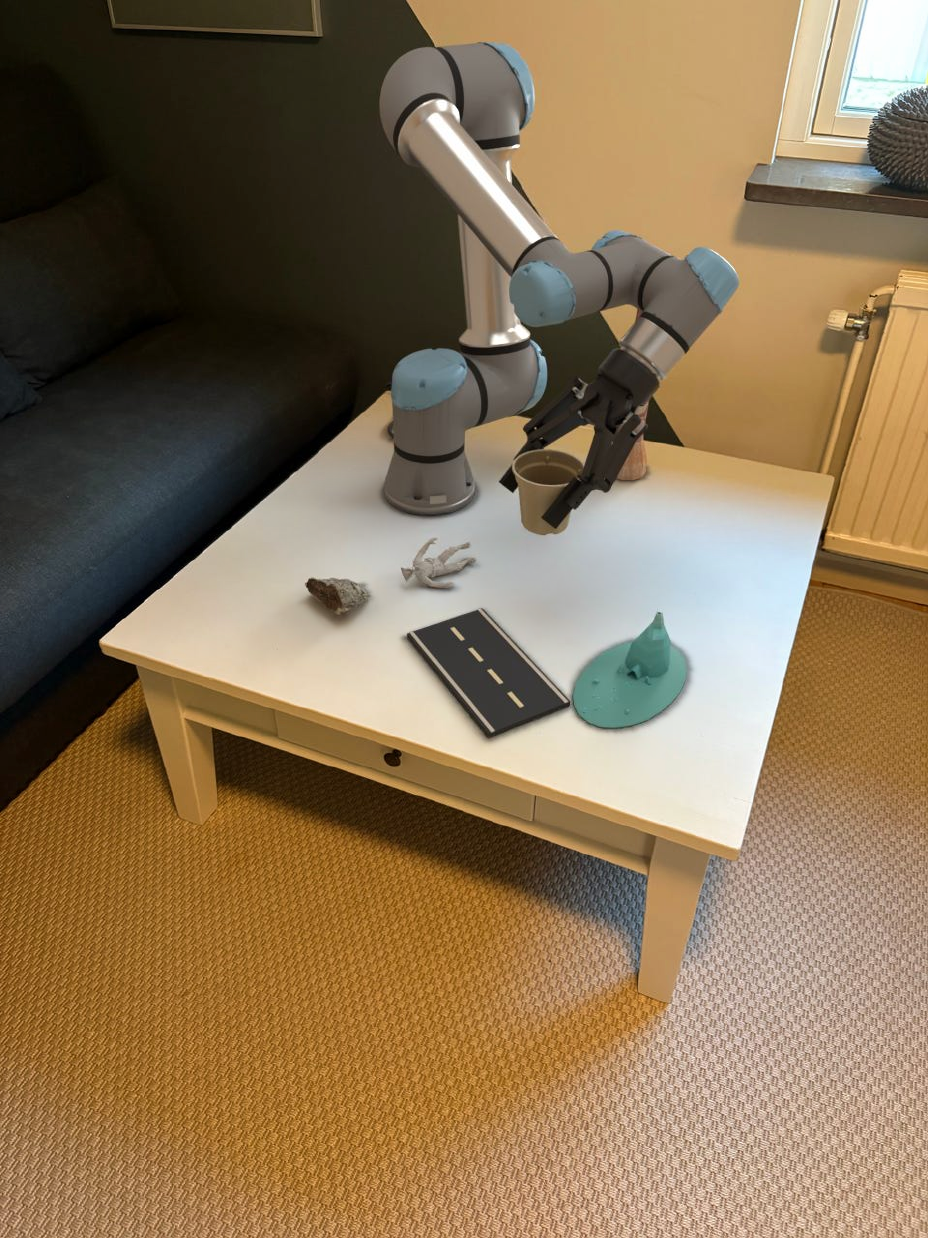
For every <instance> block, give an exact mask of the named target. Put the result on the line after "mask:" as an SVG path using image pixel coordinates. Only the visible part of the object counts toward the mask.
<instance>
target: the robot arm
mask: <svg viewBox="0 0 928 1238" xmlns="http://www.w3.org/2000/svg"><path fill="white" fill-rule="evenodd" d="M529 68H530V67H528V64H527V63H526V60H525V59H524V58H523V57H521V54H520V53H519V51H518V50H516V49H515V48H514V47H513V46H511V45H509V44H507V43H503V42H490V41H489V42H487V41H485V42H483V41H477V42H473V43H463V44H453V45H452V44H451V45H442V46H433V47H432V46H425V47H417V48H415V49H412V50H410V51H408V52H406V53H405V54H402V55H401V56H400V57H399V58H398V59H396V60H395V62H394V63H393V64H392V65H391V67H390V68H389V69H388V71H387V73H386V74H385V77H384V79H383V82H382V85H381V89H380V94H379V95H380V96H379V102H378V103H379V117H380V121H381V125H382V128H383V131H384V133H385V135H386V138H387V140H388V142H389V143H390V145H391V146H392V148H393V150H394V151H395V152H396V153H397V154H398V156H400V159H402V160H403V161H404V163H405V164H407V165H409V166H410V167H414V168H419V169H420V170H421V172H422V173H423V174H424V175H425V176H426V177H427V179H428V180H429V181H430V182H431V183H432V184H433V186H434V187H435V188H436V190H438V192H439V193H440V194H441V196H443V198H444V199H445V200H446V202H447V203H448V204H449V205H450V206H451V208H452V209H453V210H454V211H455V212H456V213H457V225H458V236H459V248H460V259H461V270H462V283H463V295H464V308H465V319H466V329H465V330H464V332H462V334H461V335H460V336H459V338H458V345H459V346H458V347H459V351H456V350H454V349H450V348H443V347H439V348H436V349H432V348H426V349H422V350H418V351H417V350H416V351H415V352H412V353H410V354H408V355H406V356H405V357H403V358H402V359H401V360H400V361H399V362H398V363H397V364H396V366H395V367H394V370H393V372H392V377H391V378H392V379H391V381H388V382H387V383H386V384H385V387H386V388H389V387H391V389H390V399H391V404H392V405H391V406H392V421H391V422H390V423H389V424H388V426H387V430H386V431H387V434H388V436H389V437H390V438H391V439H393V453H392V456H391V460H390V462H389V467H388V469H387V472H386V475H385V477H384V484H383V485H384V496H385V498H386V500H387V501H388V503H389V504H390V505H391V506H393V507H395V508H396V509H398V510H401V511H403V512H406V513H410V514H414V515H420V516H438V515H445V514H449V513H453V512H456V511H459V510H461V509H463V508H464V507H466V506H467V505H469V504H470V503H471V502H472V500H473V499H474V497H475V491H476V490H475V489H476V487H475V486H476V484H475V478H474V474H473V471H472V469H471V465H470V463H469V460H468V457H467V453H466V450H465V446H466V445H465V443H466V431H467V430H470V429H474V428H477V427H480V426H483V425H487V424H490V423H492V422H496V421H500V420H503V419H505V418H510V417H516V416H518V415H519V414H521V413H522V412H525V411H528V410H530V409H531V408H533V407H535V406H536V405H537V404H538V402H540V400H541V399H542V397H543V396H544V393H545V391H546V388H547V382H548V366H547V361H546V357H545V356H543V355H542V352H543V350H542V349H541V347H540V346H539V345H538V344H537V343H536V342H535V341H534V340H533V339H531V332H530V331H529V330H528V328H526V327H525V326H527V327H532V328H539V327H546V326H553V325H560V324H563V323H565V322H567V321H570V320H573V319H574V320H575V319H576V318H580V317H584V316H587V315H591V314H595V313H599V312H603V311H608V310H611V309H615V308H618V307H622V306H625V305H627V306H628V305H629V306H632V307H633V308H636V310H637V309H639V310H641V311H643V313H642V314H641V315H640V317H639V318H638V319H637V320H636V319H635V320H636V322H635V321H634V322H633V324H632V325H631V327H629V329H628V330H627V331H626V332H625V334H624V335H623V336H622V337H621V339H620V340H619V341H618V346H619V347H618V348H612V350H611V352H610V353H609V354H608V356H606V358H605V359H604V360H603V361H602V363H601V364H600V365H599V366H598V369H597V376H596V378H594V380H593V381H591V382H590V383H587V382H584V381H583V380H581V379H580V377H578V376H577V375H575V376H573V377H572V378H571V379H570V380H569V382H568V383H567V385H566V386H565V388H564V389H563V390H562V391H561V392H559V394H558V395H556V396H555V397H553V399H552V400H551V401H549V402H548V404H547V405H545V406H544V407H543V408H542V409H541V410H540V411H539V412H537V414H535V415H534V416H533V417H532V418H531V419H529V421H528V422H526V423H525V424H524V426H523V427H522V431H523V432H524V434H525V435H526V442H525V443H524V445H523V446H522V447H521V448H520V450H519V451H518V452H517V454H516V455H515V456H514V458H513V461H514V460H515V459H516V458H517V457H518V456H519V455H521V454H523V453H525V452H529V451H532V450H540V449H546V447H548V446H549V445H552V444H553V443H554V442H556V441H558V440H559V439H562V438H563V437H564V436H566V435H568V434H569V433H571V432H573V431H574V430H576V429H577V428H579V427H581V426H582V427H585V426H587V425H591V426H593V430H594V434H593V438H592V440H591V443H590V446H589V449H588V453H587V455H586V459H585V462H584V464H585V465H584V468H583V471H582V474H581V475H577V477H578V479H580V480H581V481H579V480H578V479H577V478H576V477H573V479H572V480H571V481H570V482H569V484H568V485H567V486H566V487H565V488H564V490H563V491H562V492H561V493H560V495H559V496H558V497H557V498H556V500H555V501H554V502H553V503H552V505H551V506H550V507H549V508H548V509H547V511H546V512H545V513H544V514H543V516H542V517H541V518H542V519H543V520H544V521H546V522H547V523H548V524H549V525H551V526H552V527H553V528H555V529H557V527H558V526H559V525H560V524H561V522H562V521H563V520H564V519H565V517H566V516H567V515H568V514H569V513H570V511H571V512H572V510H577V509H578V508H579V507H580V506H581V505H582V503H583V502H584V501H585V500H586V498H587V497H588V496H589V495H590V494H591V492H594V491H600V492H602V493H604V494H606V493H608V492H610V490H611V489H612V487H613V485H614V484H615V481H616V480H617V476H618V474H619V472H620V470H621V469H622V467H623V465H624V463H625V461H626V459H627V457H628V456H629V454H630V452H631V450H632V448H633V446H634V445H635V443H636V441H637V440H638V439H639V438H640V437H641V436H642V434H643V435H644V433H645V432H647V430H648V428H649V426H648V424H647V423H646V421H645V422H644V421H643V420H642V419H641V418H640V417H639V416H638V415H637V414H635V412H636V410H637V408H638V407H639V406H640V407H642V406H644V405H645V404H646V403H647V402H648V401H649V402H650V400H651V398H652V397H653V396H654V395H655V393H656V392H657V391H658V390H659V388H660V384H661V383H660V381H663V380H664V381H665V380H666V379H667V378H668V377H669V376H670V374H671V373H672V372H673V371H674V370H675V368H677V366H678V364H679V363H680V362H681V361H682V360H683V358H685V356H686V354H687V353H688V352H689V351H690V349H691V348H692V347H693V346H694V344H695V343H696V342H697V340H698V339H699V338H700V337H701V336H702V335H703V334H704V332H705V331H706V330H707V329H708V328H709V327H710V325H712V323H713V322H714V321H715V320H716V319H717V317H719V315H721V314H722V313H723V310H724V308H725V306H727V304H728V302H730V300H731V298H733V296H734V294H735V293H736V292H737V290H738V288H739V286H740V285H739V284H740V279H739V276H738V274H737V272H736V270H735V268H734V267H733V266H732V265H731V264H730V263H729V261H727V260H726V259H725V257H723V256H722V255H720V254H719V253H717V252H716V251H715V250H713V249H711V248H709V247H706V246H705V247H704V246H696V247H694V248H693V249H692V250H691V251H690V252H689V253H688V254H686V255H685V257H684V259H682V258H680V257H677V256H675V255H672V254H670V253H669V252H667V251H665V250H664V249H662V248H659V247H657V246H656V245H654V244H652V243H650V242H648V241H647V240H645V239H643V237H641V236H637V234H633V233H629V232H626V231H624V230H622V229H621V230H620V229H614V230H613V229H612V230H609V231H608V232H607V231H606V232H605V233H604V235H603V236H602V237H601V238H598V239H597V240H596V241H595V242H594V244H593V245H592V247H591V249H590V250H584V251H580V252H574V253H573V252H571V251H570V250H569V249H568V247H567V246H566V245H565V244H564V243H563V242H562V241H561V240H560V239H559V238H558V236H557V235H556V234H555V233H554V232H553V230H552V229H551V228H550V227H549V226H548V225H547V224H546V222H545V221H544V220H543V219H542V217H541V216H540V215H539V214H538V213H537V212H536V211H535V210H534V209H533V207H532V206H531V205H530V203H529V202H527V200H526V199H525V198H524V197H523V195H521V193H520V192H519V190H518V189H516V187H515V186H514V185H513V177H512V161H511V160H512V158H513V157H514V155H515V154H516V153H517V152H518V150H519V148H520V147H521V138H520V137H521V136H520V134H521V133H520V131H522V130H523V129H524V128H525V127H527V125H528V124H529V123H530V121H531V119H532V117H531V115H533V113H534V110H535V103H536V102H535V99H536V96H535V95H536V94H535V85H534V81H533V77H532V74H531V71H530V69H529ZM522 323H523V324H524V325H525V326H524V325H523V324H522ZM622 424H624V425H623V426H622V427H621V429H620V430H619V427H620V425H622ZM392 429H393V431H392ZM618 430H619V432H618ZM498 483H499V484H500V485H502V486H503V487H504V488H505V489H506V490H508V491H509V492H510V493H512V494H514V493H515V492H516V490H517V489H518V483H517V481H516V478H515V475H514V473H513V471H512V464H511V465H510V466H509V468H508V469H507V470H506V471H505V472H504V473H503V475H502V477H500V479H499V480H498Z"/></svg>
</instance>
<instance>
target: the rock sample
mask: <svg viewBox="0 0 928 1238" xmlns="http://www.w3.org/2000/svg"><path fill="white" fill-rule="evenodd" d="M304 586H305V588H306V589H307V591H308V593H309V594H310V595H312V596H313V597H314V598H315V599H316V600H317V601H318V602H320V603H322V605H324V606H325V608H326V609H327V610H329V611H332V612H333V613H334V614H336V615H339V616H340V615H343V614H344V613H345V612H347V611H349V610H352V609H356V607H358V606H359V605H360V604H361V603H362V602H363V603H365V602H366V601H367V600H368V599H369V598H370V597H371V593H369V592H368V591H366V590H365V588H363V587H362V586H361V584H360V583H358V582H356V581H353V580H351V579H349V578H341V579H339V578H335V577H330V578H322V579H321V578H315V577H313V576H310V577H309V578H308V579H307V581H305V582H304Z"/></svg>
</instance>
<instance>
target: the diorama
mask: <svg viewBox="0 0 928 1238" xmlns="http://www.w3.org/2000/svg"><path fill="white" fill-rule="evenodd" d="M669 635H670V634H669V632H668V630H667V628H666V626H665V619H664V613H663V612H662V611H656V613H655V616H654V617H653V620H652V622H650V624H648V626H646V628H645V629H644V630H643V631H642V632H641V633H640V634H639V635H638V636H637V637H636V638H635V639H634V640H630V641H627V642H624V643H620V644H617V645H615V646H613V647H611V648H609V649H607V650H605V651H604V652H602V653H601V654H600V655H599V656H597V657H595V658H594V660H592V661H590V663H589V664H588V665H587V666H586V667H585V669H584V670H583V671H581V673H580V676H579V678H578V679H577V681H576V682H575V686H574V690H573V694H572V697H573V704H574V705H573V706H574V708H575V710H576V712H577V714H578V715H579V717H580V718H581V719H582V720H584V721H585V722H586V723H588V724H590V725H591V726H592V725H593V726H596V727H598V728H602V729H613V730H616V729H621V728H623V729H624V728H628V727H632V726H633V727H634V726H636V725H639V724H641V723H645V722H646V721H648V720H650V719H652V718H654V717H655V716H657V715H659V714H660V713H662V712H663V711H664V710H665V709H666V708H668V706H670V705H671V704H672V703H673V702H674V701H675V699H676V698H677V697H678V695H679V694H680V692H681V691H682V688H683V686H684V683H685V681H686V678H687V669H688V666H687V662H686V659H685V657H684V655H683V654H682V652H680V651H679V649H677V648H676V647H674V646H673V645H671V644H672V640H671V638H670V636H669Z"/></svg>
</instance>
